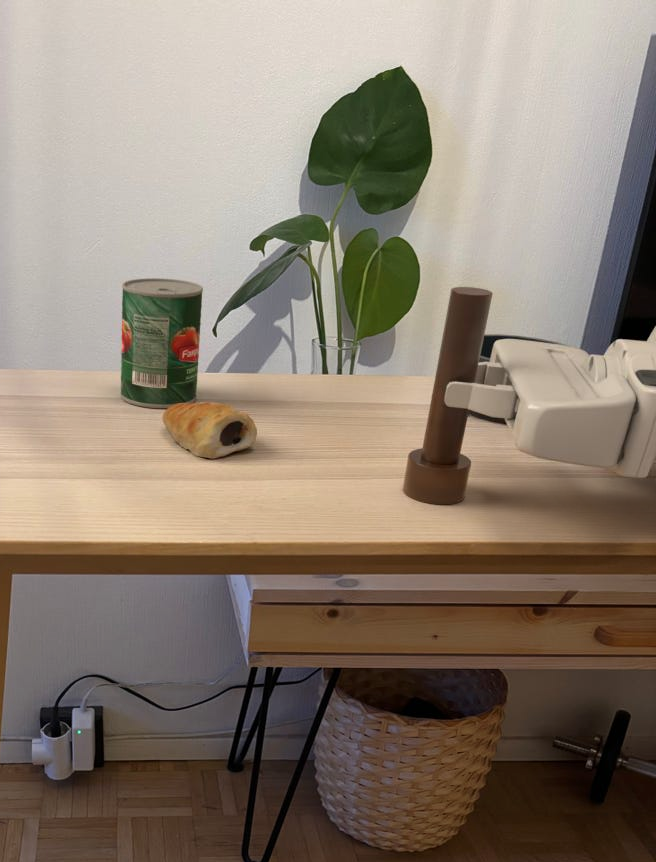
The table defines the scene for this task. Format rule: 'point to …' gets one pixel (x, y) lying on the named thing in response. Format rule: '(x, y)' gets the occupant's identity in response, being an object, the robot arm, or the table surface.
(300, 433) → the table surface
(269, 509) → the table surface
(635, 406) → the robot arm
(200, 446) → the pastry
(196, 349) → the canned tomato
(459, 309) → the stirrer
